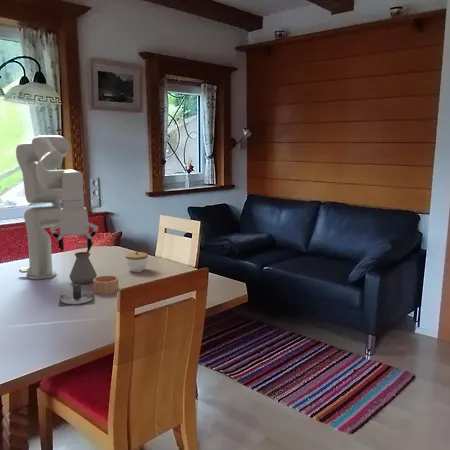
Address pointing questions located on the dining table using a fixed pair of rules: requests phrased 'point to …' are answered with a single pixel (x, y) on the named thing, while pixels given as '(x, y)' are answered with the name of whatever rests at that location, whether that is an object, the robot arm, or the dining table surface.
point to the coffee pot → (83, 268)
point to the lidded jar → (136, 261)
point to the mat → (76, 305)
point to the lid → (77, 296)
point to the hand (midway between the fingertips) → (75, 249)
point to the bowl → (105, 284)
